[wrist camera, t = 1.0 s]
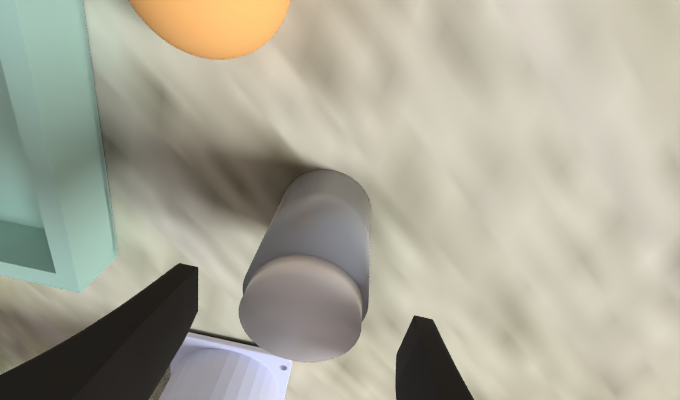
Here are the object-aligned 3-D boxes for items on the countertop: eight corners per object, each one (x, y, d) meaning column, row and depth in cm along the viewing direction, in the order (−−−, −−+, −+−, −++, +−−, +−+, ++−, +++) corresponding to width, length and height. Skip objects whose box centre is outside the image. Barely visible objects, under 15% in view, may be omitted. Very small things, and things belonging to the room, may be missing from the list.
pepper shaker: (359, 254, 19) (350, 377, 13) (277, 236, 19) (229, 350, 13) (381, 181, 17) (383, 288, 11) (288, 160, 16) (236, 255, 10)
